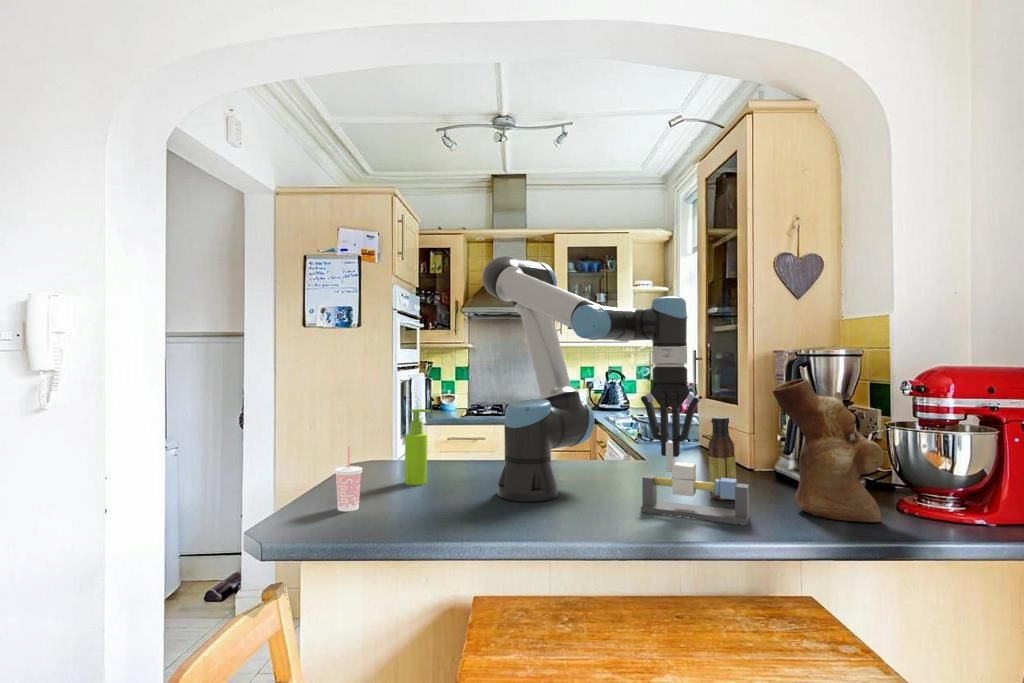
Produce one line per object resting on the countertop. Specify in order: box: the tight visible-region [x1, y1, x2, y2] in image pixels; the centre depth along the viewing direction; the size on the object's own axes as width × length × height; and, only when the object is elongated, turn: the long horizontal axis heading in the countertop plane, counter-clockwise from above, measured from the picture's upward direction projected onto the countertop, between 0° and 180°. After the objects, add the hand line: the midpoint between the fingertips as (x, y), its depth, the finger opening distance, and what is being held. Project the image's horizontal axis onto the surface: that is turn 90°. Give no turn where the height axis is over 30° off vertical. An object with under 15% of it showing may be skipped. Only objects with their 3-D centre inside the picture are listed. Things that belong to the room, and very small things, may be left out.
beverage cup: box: [334, 446, 363, 512], centre depth 129 cm, size 6×6×14 cm
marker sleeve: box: [671, 461, 697, 498], centre depth 126 cm, size 4×4×6 cm
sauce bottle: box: [707, 416, 737, 501], centre depth 140 cm, size 7×6×20 cm
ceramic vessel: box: [771, 378, 885, 523], centre depth 126 cm, size 16×22×30 cm
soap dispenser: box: [404, 408, 432, 486], centre depth 154 cm, size 6×7×20 cm
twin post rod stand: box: [640, 473, 750, 526], centre depth 125 cm, size 22×7×8 cm, turn 64°
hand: (670, 470), depth 127 cm, fingers closed
